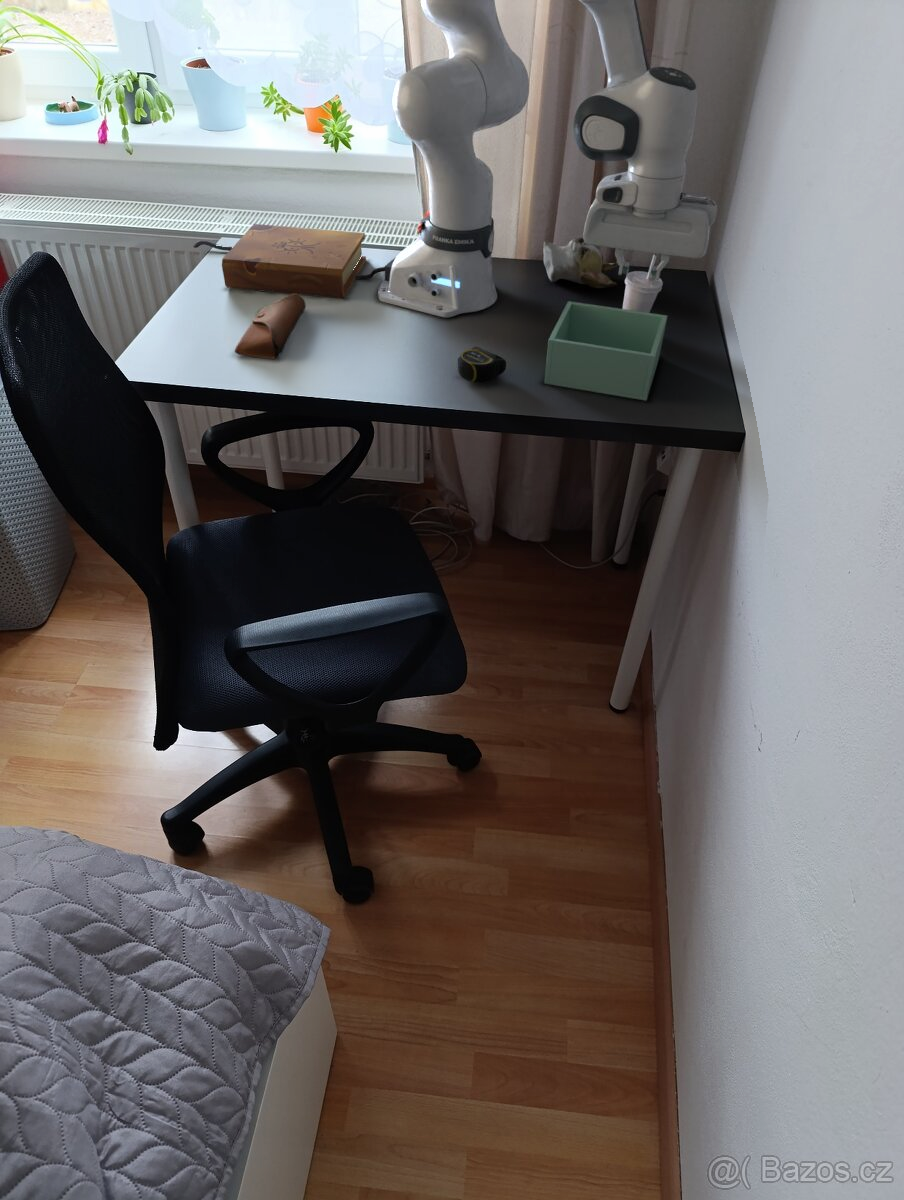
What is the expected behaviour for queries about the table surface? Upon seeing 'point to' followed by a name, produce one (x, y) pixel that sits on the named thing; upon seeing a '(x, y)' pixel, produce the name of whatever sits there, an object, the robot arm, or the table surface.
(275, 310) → the sunglasses case
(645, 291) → the smoothie
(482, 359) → the tape measure
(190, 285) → the table surface
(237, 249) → the diary
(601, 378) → the green open storage box
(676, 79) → the robot arm
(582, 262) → the ceramic sculpture
